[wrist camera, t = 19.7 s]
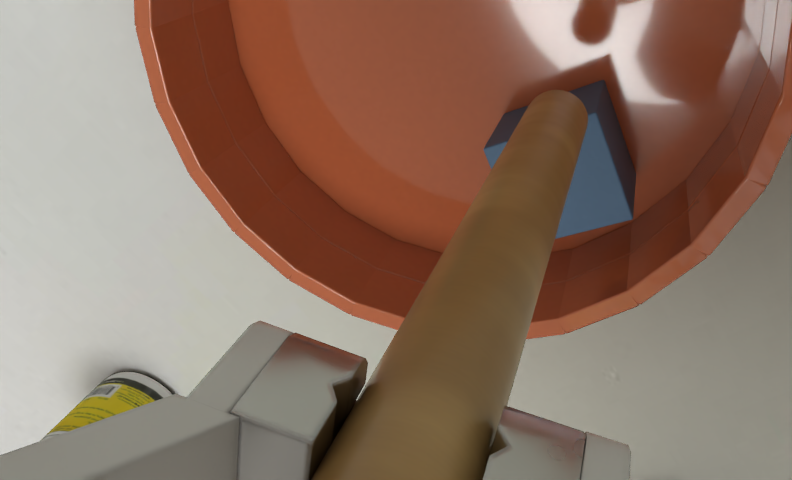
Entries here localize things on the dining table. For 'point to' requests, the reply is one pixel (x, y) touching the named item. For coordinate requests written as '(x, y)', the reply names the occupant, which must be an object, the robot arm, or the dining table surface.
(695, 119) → the mixing bowl
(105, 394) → the pill bottle
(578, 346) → the dining table surface
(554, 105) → the stirring stick
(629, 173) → the blue block
